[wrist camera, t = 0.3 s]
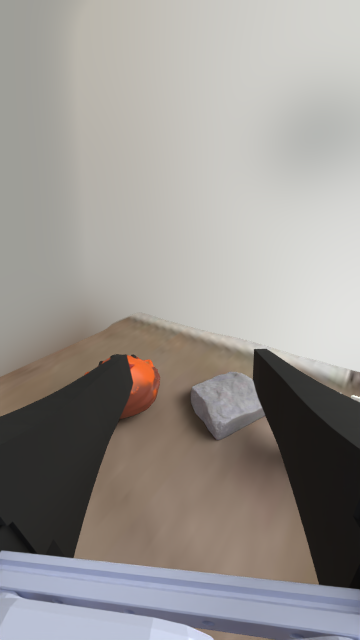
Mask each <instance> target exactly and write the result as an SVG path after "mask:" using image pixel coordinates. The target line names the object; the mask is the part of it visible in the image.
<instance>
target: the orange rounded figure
mask: <svg viewBox="0 0 360 640" xmlns="http://www.w3.org/2000/svg"><path fill="white" fill-rule="evenodd" d="M116 355H119V354H116ZM116 355H112V356H111V357H110V358H109V359H111V358H112V357H114V356H116ZM127 358H128V362H129V366H130V370H131V375H132V379H133V386H132V390H131V393H130V396H129V399H128V401H127V404H126V406H125V408H124V410H123V412H122V415H121V417H120V419H122V418H127V417H130V416H133V415H136V414H138V413H140V412H142V411H144V410H146V409H148V408H149V407H150V406H151V404H152V403H153V402H154V401H155V399H156V396H157V392H158V388H159V385H160V381H159V380H160V375H159V373H158V370H157V369H156V368H155V367H154V366H153V363H152V361H151V360H144V361H143V360H141V359H139V358H138V357H136V356H135V355H131V356H128V355H127ZM109 359H107V360H109ZM107 360H105V361H100V362H99V365H98V366H100V365H101V364H103V363H104V362H106V361H107ZM87 373H89V372H87ZM87 373H85V375H86V374H87Z"/></svg>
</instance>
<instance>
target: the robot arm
mask: <svg viewBox="0 0 360 640" xmlns="http://www.w3.org/2000/svg"><path fill="white" fill-rule="evenodd" d="M253 382H254V386H255V390H256V393H257V396H258V399H259V402H260V404H261V406H262V409H263V411H264V413H265V416H266V418H267V420H268V423H269V425H270V427H271V430H272V432H273V434H274V437H275V439H276V442H277V444H278V447H279V449H280V452H281V455H282V459H283V462H284V465H285V468H286V471H287V474H288V477H289V481H290V484H291V487H292V490H293V494H294V497H295V500H296V503H297V507H298V510H299V514H300V517H301V521H302V524H303V527H304V531H305V534H306V538H307V542H308V545H309V549H310V552H311V556H312V560H313V563H314V567H315V571H316V574H317V578H318V582H319V585H315V584H305V583H296V582H287V581H278V580H268V579H259V578H250V577H241V576H232V575H222V574H213V573H204V572H195V571H186V570H176V569H167V568H158V567H149V566H140V565H130V564H121V563H112V562H103V561H94V560H84V559H75V558H73V557H74V553H75V549H76V546H77V542H78V538H79V535H80V531H81V527H82V524H83V520H84V517H85V513H86V510H87V506H88V503H89V500H90V496H91V493H92V490H93V487H94V484H95V481H96V478H97V474H98V471H99V468H100V465H101V463H102V460H103V457H104V454H105V451H106V448H107V446H108V443H109V441H110V438H111V436H112V434H113V432H114V430H115V427H116V425H117V423H118V421H119V419H120V417H121V415H122V412H123V410H124V408H125V406H126V404H127V401H128V399H129V396H130V393H131V390H132V386H133V379H132V375H131V370H130V366H129V362H128V358H127V355H116V356H114V357H112V358H111V359H109V360H107V361H106V362H104V363H103V364H101V365H100V366H98V367H96V368H95V369H93V370H92V371H90V372H89V373H87V374H86V375H84V376H82V377H81V378H79V379H77V380H76V381H74V382H72V383H71V384H69V385H67V386H66V387H64V388H62V389H60V390H58V391H56V392H55V393H53V394H51V395H49V396H47V397H45V398H43V399H41V400H38V401H36V402H34V403H32V404H29V405H27V406H25V407H23V408H21V409H18V410H16V411H13V412H11V413H8V414H6V415H3V416H1V417H0V640H214V639H213V638H212V637H211V636H209V635H207V634H205V633H202V632H200V631H198V630H196V629H194V628H201V629H208V630H215V631H222V632H229V633H235V634H242V635H249V636H256V637H263V638H269V639H276V640H360V402H358V401H356V400H354V399H352V398H349V397H347V396H345V395H343V394H341V393H339V392H337V391H335V390H333V389H331V388H329V387H327V386H325V385H323V384H321V383H319V382H318V381H316V380H314V379H312V378H311V377H309V376H307V375H306V374H304V373H302V372H301V371H299V370H297V369H296V368H294V367H293V366H291V365H290V364H288V363H287V362H285V361H284V360H282V359H281V358H279V357H278V356H276V355H275V354H273V353H272V352H271V351H269V350H267V349H254V366H253ZM192 627H194V628H192Z"/></svg>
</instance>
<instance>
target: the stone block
mask: <svg viewBox="0 0 360 640" xmlns="http://www.w3.org/2000/svg"><path fill="white" fill-rule="evenodd" d="M191 404H192V406H193V409H194V411H195V413H196V414H197V415H198V416H199V417H200V419H201V420H202V421H204V423H205V425H206V427H207V428H208V430H209V431H210V432H211V434H212V435H213V436H214V437H215V438H216V439H217V440H220V439H223V438H225V437H227V436H229V435H231V434H232V433H234V432H236V431H238V430H240V429H241V428H243V427H245V426H247V425H249V424H251V423H252V422H254V421H256V420H258V419H260V418H262V417H264V416H265V413H264V411H263V409H262V406H261V404H260V402H259V399H258V396H257V393H256V390H255V386H254V382H253V380H252V379H251V378H250V377H248V376H246V375H244V374H242V373H237V372H228V373H227V374H221V375H218V376H216V377H214V378H212V379H211V380H207V381H204V382H203V383H199V384H197V385H195V386H193V387H192V391H191Z"/></svg>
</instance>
